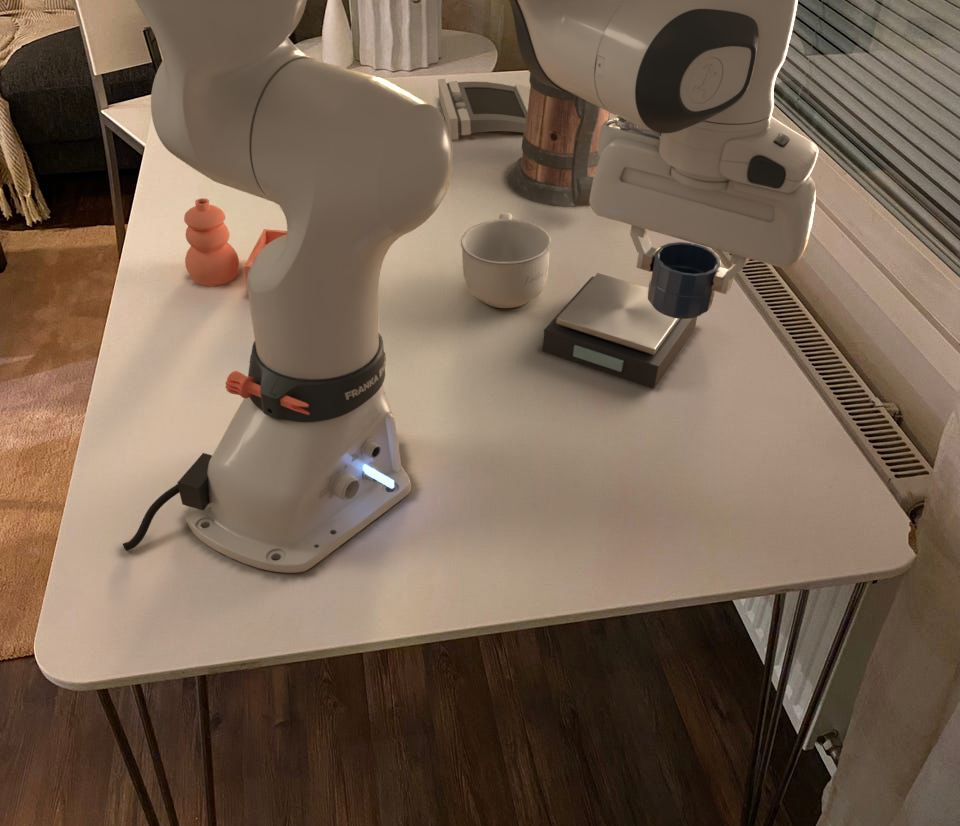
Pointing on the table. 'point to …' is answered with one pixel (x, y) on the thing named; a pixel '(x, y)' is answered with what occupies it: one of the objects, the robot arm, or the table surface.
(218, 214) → the pottery
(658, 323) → the scale pan
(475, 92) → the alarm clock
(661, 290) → the cup
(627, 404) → the table surface
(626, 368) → the scale
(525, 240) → the teacup
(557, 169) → the tankard
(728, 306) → the table surface
